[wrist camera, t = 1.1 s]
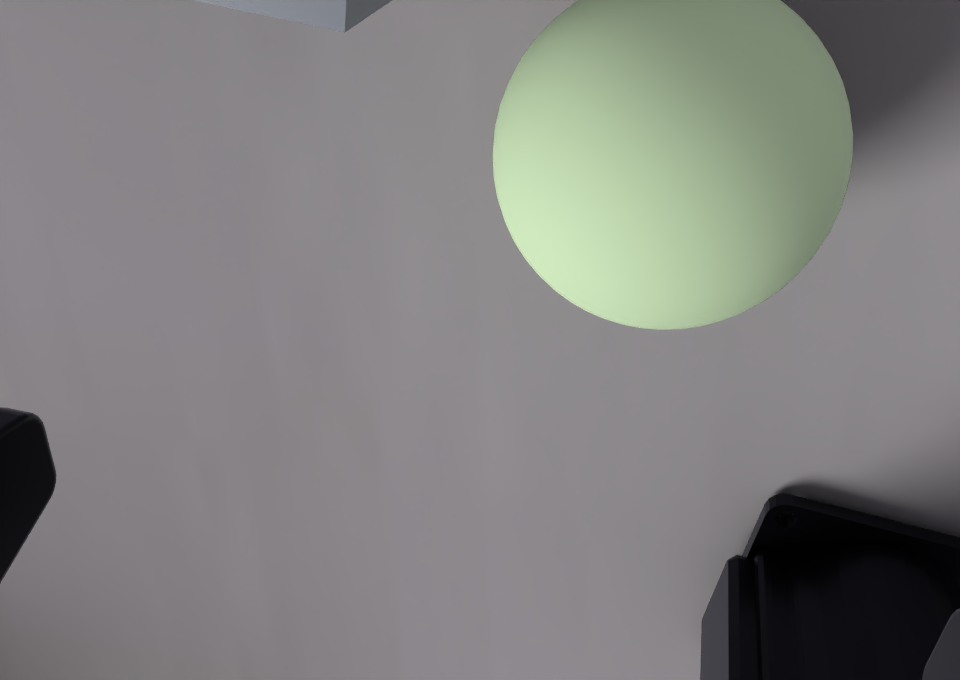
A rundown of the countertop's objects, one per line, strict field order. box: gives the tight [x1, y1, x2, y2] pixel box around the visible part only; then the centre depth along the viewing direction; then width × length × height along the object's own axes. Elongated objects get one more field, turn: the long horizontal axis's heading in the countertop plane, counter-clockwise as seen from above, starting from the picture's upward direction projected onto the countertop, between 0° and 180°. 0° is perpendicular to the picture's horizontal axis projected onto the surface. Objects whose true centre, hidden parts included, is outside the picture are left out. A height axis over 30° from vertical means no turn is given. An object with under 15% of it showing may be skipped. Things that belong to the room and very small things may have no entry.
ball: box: [493, 0, 853, 330], centre depth 16 cm, size 6×6×6 cm
